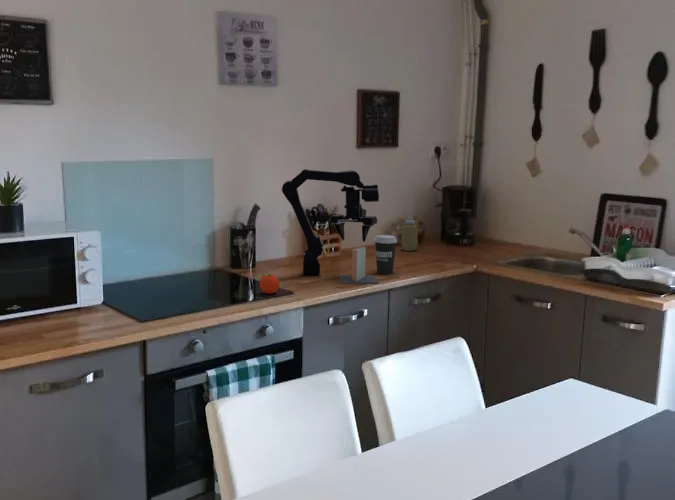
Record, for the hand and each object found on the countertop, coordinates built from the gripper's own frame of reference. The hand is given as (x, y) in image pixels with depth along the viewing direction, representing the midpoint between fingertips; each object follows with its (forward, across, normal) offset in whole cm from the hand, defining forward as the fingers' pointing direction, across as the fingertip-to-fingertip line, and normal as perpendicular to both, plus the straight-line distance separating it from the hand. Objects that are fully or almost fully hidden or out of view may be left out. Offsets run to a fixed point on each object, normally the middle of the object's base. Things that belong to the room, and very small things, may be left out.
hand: (353, 241), depth 282 cm
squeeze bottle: (+15, 0, -62) cm, 64 cm away
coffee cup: (+15, -9, -11) cm, 20 cm away
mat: (+14, -6, +8) cm, 17 cm away
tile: (+7, -6, +7) cm, 12 cm away
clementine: (+13, +14, +43) cm, 47 cm away
